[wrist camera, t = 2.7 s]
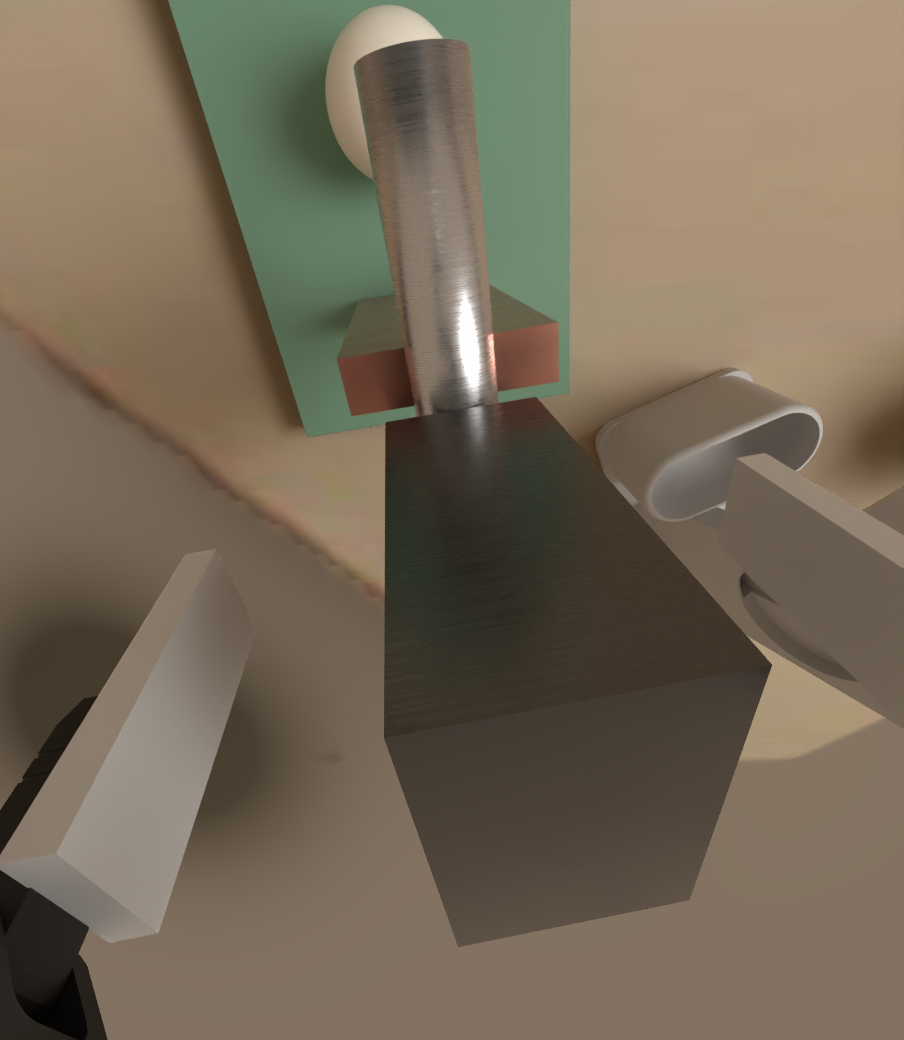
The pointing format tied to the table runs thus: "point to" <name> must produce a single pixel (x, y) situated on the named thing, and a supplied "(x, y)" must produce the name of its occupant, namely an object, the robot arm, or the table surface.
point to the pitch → (351, 195)
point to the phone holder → (724, 496)
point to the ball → (340, 85)
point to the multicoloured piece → (521, 573)
